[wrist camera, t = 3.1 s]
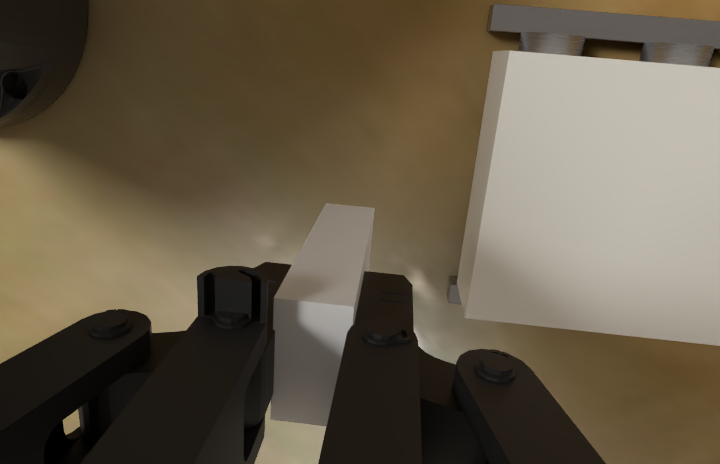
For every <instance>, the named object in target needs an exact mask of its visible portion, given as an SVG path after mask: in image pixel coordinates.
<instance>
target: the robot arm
mask: <svg viewBox="0 0 720 464" xmlns="http://www.w3.org/2000/svg"><path fill="white" fill-rule="evenodd" d="M87 23H88V4H87V0H0V127H1V126H6V125H12V124H15V123H19V122H22V121H24V120H27V119H29V118H31V117H33V116H35V115H37V114H38V113H40V112H42V111H43V110H45V109H46V108H47V107H48V106H50V105H51V104H52V103H53V102H54V101H55V100H56V99H57V98H58V97H59V96H60V95H61V94H62V92H63V91H64V90H65V89H66V87H67V86H68V84H69V83H70V81H71V79H72V78H73V76H74V74H75V72H76V70H77V67H78V65H79V62H80V59H81V56H82V53H83V49H84V45H85V40H86V34H87ZM374 211H375V208H370V207H360V206H350V205H340V204H330V203H326V204H325V206H324V208H323V209H322V211H321V213H320V215H319V217H318V218H317V220H316V222H315V224H314V226H313V228H312V229H311V231H310V233H309V235H308V237H307V238H306V240H305V242H304V244H303V246H302V248H301V249H300V251H299V253H298V255H297V257H296V258H295V260H294V262H293V264H292V265H289V264H279V263H270V262H265V263H263V264H261V265H259V266H257V267H255V268H249V267H244V266H225V267H217V268H213V269H210V270H207V271H204V272H203V273H201V274H200V275H198V276H197V291H198V317H197V318H196V319H195V320H194V322H193V323H192V324H191V325H190V327H189V328H188V329H187V330H186V331H179V332H166V333H152V331H151V321H150V320H149V318H148V317H147V316H146V315H144V314H141V313H139V312H136V311H129V310H124V309H118V310H116V309H115V310H107V311H105V312H102V313H97V314H94V315H91V316H89V317H86V318H84V319H81V320H80V321H78V322H76V323H74V324H72V325H71V326H69V327H67V328H65V329H63V330H61V331H60V332H58V333H56V334H54V335H52V336H50V337H49V338H47V339H45V340H43V341H41V342H39V343H38V344H36V345H34V346H32V347H30V348H28V349H27V350H25V351H23V352H21V353H19V354H18V355H16V356H14V357H12V358H10V359H8V360H7V361H5V362H3V363H1V364H0V464H254V463H255V460H256V457H257V454H258V452H259V449H260V446H261V444H262V441H263V438H264V430H265V413H266V410H267V408H268V405H269V403H270V400H271V417H270V419H272V420H280V421H288V422H296V423H304V424H312V425H320V426H327V427H326V431H325V436H324V441H323V445H322V450H321V454H320V459H319V463H318V464H606V463H605V462H604V461H603V460H602V458H601V457H600V456H599V454H598V453H597V452H596V451H595V449H594V448H593V447H592V446H591V444H590V443H589V442H588V441H587V439H586V438H585V437H584V435H583V434H582V433H581V432H580V430H579V429H578V428H577V427H576V425H575V424H574V423H573V422H572V420H571V419H570V418H569V417H568V415H567V414H566V413H565V411H564V410H563V409H562V408H561V406H560V405H559V404H558V403H557V401H556V400H555V399H554V398H553V396H552V395H551V394H550V392H549V391H548V390H547V389H546V387H545V386H544V385H543V384H542V382H541V381H540V380H539V379H538V377H537V376H536V375H535V373H534V372H533V371H532V370H531V369H530V368H529V367H528V366H527V365H526V364H525V363H524V362H523V361H521V360H519V359H517V358H515V357H513V356H511V355H510V354H508V353H505V352H500V351H498V350H487V349H477V350H470V351H467V352H465V353H464V354H462V355H460V357H459V359H458V360H457V362H456V365H455V364H452V363H449V362H445V361H442V360H440V359H437V358H435V357H433V356H431V355H429V354H427V353H426V352H424V351H423V350H422V349H421V348H420V347H419V346H418V340H417V337H416V335H415V333H414V329H413V297H412V295H413V293H412V284H411V283H410V282H409V281H408V280H407V278H406V277H405V276H404V275H396V274H386V273H377V272H369V264H370V254H371V243H372V232H373V221H374ZM77 409H78V411H79V420H80V427H78V428H77V429H76V430H75V431H73V432H72V433H70V434H68V435H65V433H64V428H63V419H65V418H66V417H67V416H69V415H70V414H72V413H73V412H74V411H76V410H77Z"/></svg>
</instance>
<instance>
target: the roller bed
mask: <svg viewBox="0 0 720 464" xmlns="http://www.w3.org/2000/svg"><path fill="white" fill-rule="evenodd" d="M486 31H492V32H505V33H517V34H521V36H520V42H519V48H518V51H521V52H533V53H545V54H558V55H570V56H581V55H582V51H583V46H584V41H585V39H591V40H603V41H615V42H628V43H640V44H643V48H642V52H641V56H640V60H639V61H642V62H654V63H666V64H678V65H690V66H702V67H709V64H710V61H711V58H712V54H713V51H714V50H720V22H719V21H706V20H694V19H681V18H668V17H655V16H643V15H630V14H617V13H605V12H592V11H579V10H566V9H554V8H541V7H528V6H516V5H503V4H493V5H491V6H490V10H489V17H488V24H487V30H486ZM457 278H458V277H451V276H449V283H448V290H447V298H448V303H455V304H462V303H461V299H460V294H459V290H458V286H457Z"/></svg>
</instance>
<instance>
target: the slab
mask: <svg viewBox="0 0 720 464" xmlns="http://www.w3.org/2000/svg"><path fill="white" fill-rule="evenodd" d="M457 286H458V290H459V294H460V299H461V303H462V307H463V311H464V316H465V318H468V319H477V320H486V321H495V322H505V323H514V324H523V325H532V326H541V327H551V328H560V329H569V330H578V331H588V332H597V333H606V334H615V335H624V336H634V337H643V338H652V339H661V340H670V341H680V342H689V343H698V344H707V345H716V346H720V68H714V67H702V66H690V65H678V64H666V63H654V62H642V61H630V60H618V59H606V58H594V57H582V56H570V55H558V54H545V53H533V52H521V51H493V54H492V61H491V67H490V74H489V80H488V86H487V93H486V99H485V106H484V112H483V118H482V125H481V131H480V138H479V144H478V150H477V157H476V163H475V170H474V176H473V182H472V189H471V195H470V201H469V208H468V214H467V221H466V227H465V233H464V240H463V246H462V253H461V259H460V265H459V272H458V278H457Z"/></svg>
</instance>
